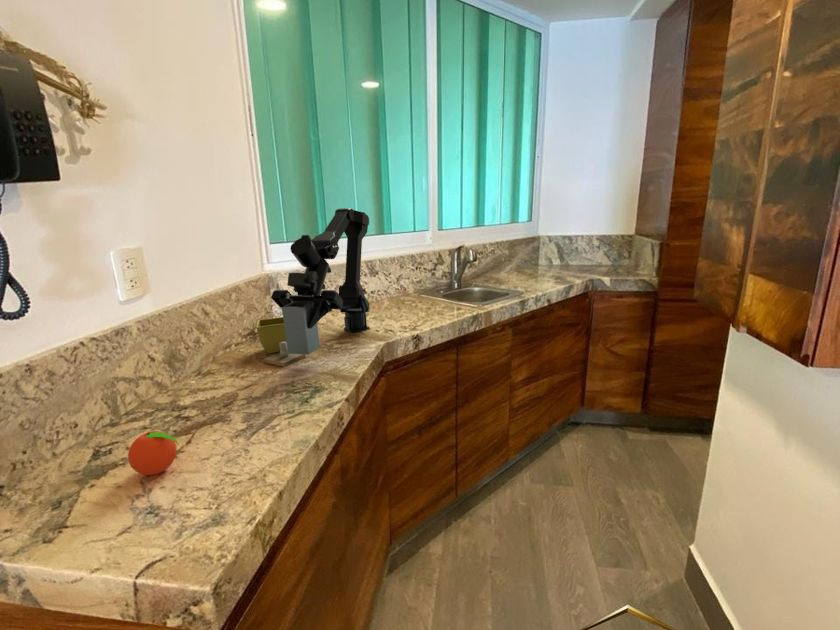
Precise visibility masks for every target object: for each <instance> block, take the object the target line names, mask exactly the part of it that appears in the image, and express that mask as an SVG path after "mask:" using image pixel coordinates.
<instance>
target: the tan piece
mask: <svg viewBox="0 0 840 630" xmlns="http://www.w3.org/2000/svg"><path fill="white" fill-rule="evenodd" d="M279 346H280V352H276V353H275V354H272V355H270V356H268V357H265V358H263V363H265V364H270V365H275V366H279V367H283V368H284V367H286V366H289V365H291V364H293V363H295V362H298V361H300V360H302V359H305V358H306V357H307V355H304V354H288V348H287V342H280V343H279Z"/></svg>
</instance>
